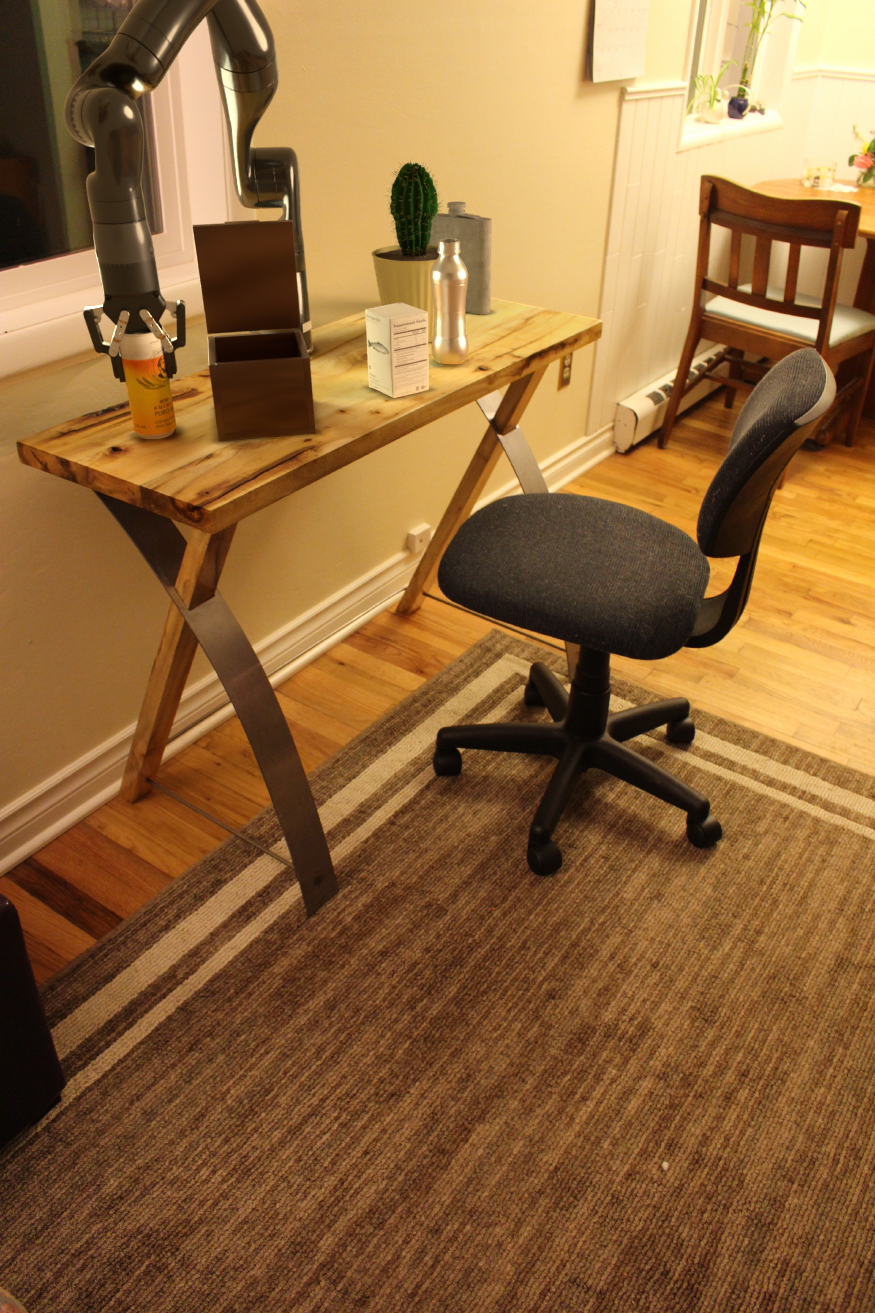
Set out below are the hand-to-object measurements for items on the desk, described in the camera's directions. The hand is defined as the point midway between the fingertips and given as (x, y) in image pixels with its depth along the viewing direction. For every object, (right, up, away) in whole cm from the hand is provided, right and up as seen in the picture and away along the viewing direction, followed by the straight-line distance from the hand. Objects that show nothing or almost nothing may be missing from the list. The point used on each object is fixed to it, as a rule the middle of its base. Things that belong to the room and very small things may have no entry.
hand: (146, 378), depth 146 cm
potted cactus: (+38, +21, +46) cm, 63 cm away
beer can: (0, -7, +5) cm, 8 cm away
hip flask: (+45, +31, +63) cm, 83 cm away
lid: (+14, +15, +3) cm, 21 cm away
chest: (+15, -4, +9) cm, 18 cm away
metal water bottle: (+44, +11, +31) cm, 55 cm away
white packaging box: (+35, +4, +20) cm, 41 cm away
